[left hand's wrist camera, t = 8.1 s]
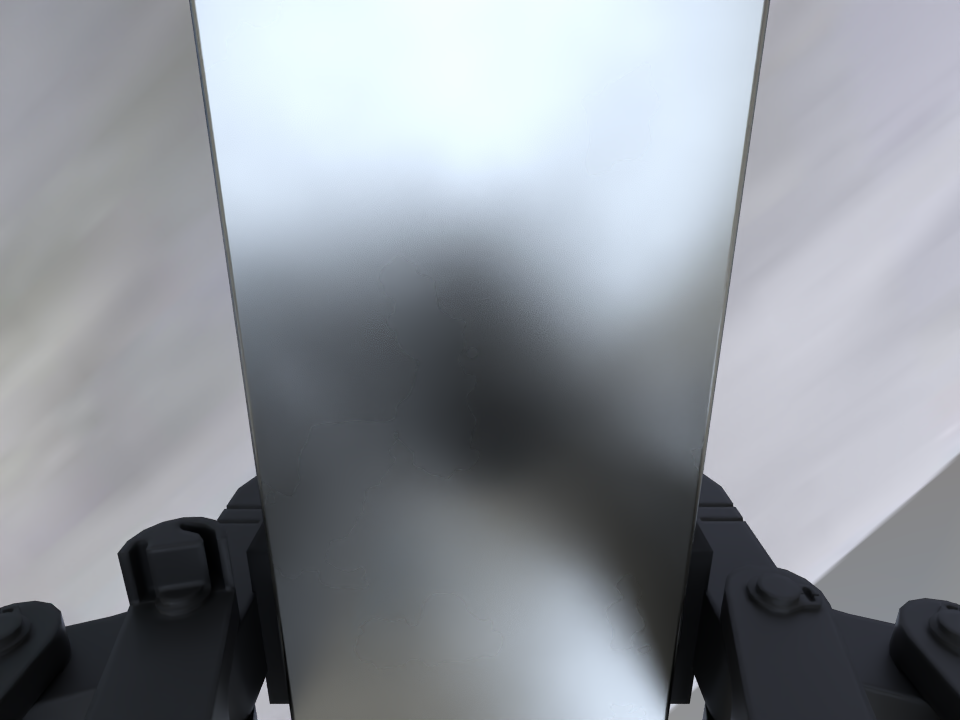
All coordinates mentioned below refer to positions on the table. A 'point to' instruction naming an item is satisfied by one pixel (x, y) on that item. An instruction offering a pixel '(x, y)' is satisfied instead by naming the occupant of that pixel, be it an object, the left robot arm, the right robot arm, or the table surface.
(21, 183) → the table surface
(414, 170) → the bar
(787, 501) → the table surface
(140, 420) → the table surface
